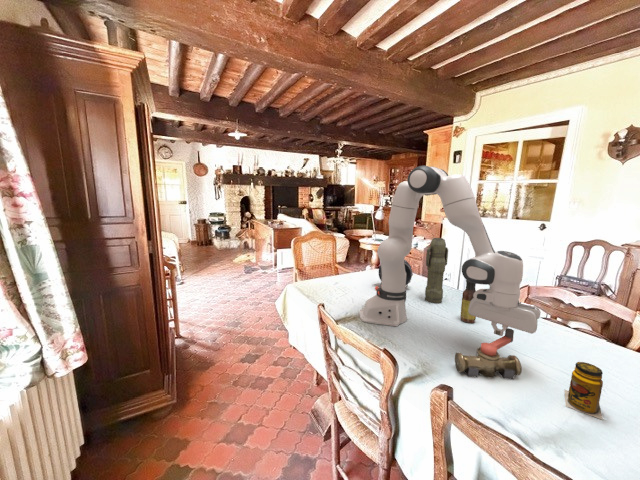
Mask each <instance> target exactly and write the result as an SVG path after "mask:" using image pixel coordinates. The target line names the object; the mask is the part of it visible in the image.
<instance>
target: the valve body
mask: <svg viewBox="0 0 640 480" xmlns="http://www.w3.org/2000/svg"><path fill="white" fill-rule="evenodd" d="M476 354H477V355H468V354H467V355H465V354H463V353H462V352H460V351H459V352H458V351H457V352H455V355H454V363H455V368H456V369H457V372H458V373H464V374H466V376H467V377H468V378H478V377H479V375H481V376H482V377H486V378H491V379H492V378H495V377H497V376H496V375H497V373H498V374H499V375H500V377H502V378H503V380H514V379H515V376H520V375H521V374H522V370H523V368H522V364H521V361H520V359H519V358H518V357H517V356H516V355H514V354H513V355H512V354H510V355H507V357H505V356H504V357H501V355H500V353H499V352H498V351H497V353H496V355H495V356H490V355H486V354H484V353H482V352H481V346H480V347H478V348H477V349H476Z"/></svg>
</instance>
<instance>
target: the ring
mask: <svg viewBox="0 0 640 480" xmlns="http://www.w3.org/2000/svg"><path fill="white" fill-rule="evenodd" d="M404 265H405V272H406V286H408V285H409V284H410V283H411V281H412V277H413V275H414V273H413V269H412V266H411V264H410V263H409V262H408V261H407V260H406V259H404ZM378 278H379V280H380V281H382V269H381V264H379V268H378Z"/></svg>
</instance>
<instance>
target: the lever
mask: <svg viewBox="0 0 640 480" xmlns="http://www.w3.org/2000/svg"><path fill="white" fill-rule="evenodd" d="M514 335H515V329H513V328H512V329H511V328H510V327H508V328H507V329H506V330H505V331H504V336H500V337H499V338H498V339H495V340H493V341H492V342H481V344H480V347H481V352H482V353H484V354H486V355H490V356H495V355H496V353H497V352H498V350H499V349H501V348H503V347H505V346H507V345H508V344H511V343H513V341H514Z"/></svg>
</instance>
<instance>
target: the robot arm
mask: <svg viewBox="0 0 640 480" xmlns="http://www.w3.org/2000/svg"><path fill="white" fill-rule="evenodd" d="M432 195H433V196H434V195H438V196H439V198H440V200H441V204H442V207H443V212H444V214H445V216H446V219H447V221H448V222H449V223H450V224H451V225H452V226H454V227H457V228H459V229H461V230H462V231H464V232H465V234H467V236H468V239H469V241H470V243H471V245H472V249H473V251H474V255H475V256H474V257H470V258H469V259H467V260H465V261H464V262H463V263H462V266H461V274H462V276H463V277H464V279H465V281H466V280H467V281H469V282H471V283H474V284H476V285H488V286H489V288H480V289H476V292H475V293H474V295H473V297H474V298H473V299H472V300H471V302H470V305H469V310H468V312H469V314H470V315H472V316H475V317H476V318H478V319H483V320H485V321H489V322H491V326H492V328H493V334H494V335H497V336H500V337H503V335H504V333H505V330H506V329H507V328H510V329H511V328H512V329H514V330H518V331H522V332H525V333H529V334H534V333H536V332H537V330H538V319H540V317H541V310H540V308H539V307H537V306H536V305H534V304H530V303H525V302H522V301H520V296H521V288H520V286H521V284H522V280H523V276H524V262H523V259H522V257H521V256H520V255H518V254H516V253H514V252H510V251H506V250H497V251H495V250H494V247H493V245H492V242H491V240H490V237H489V235H488V232H487V229H486V227H485V225H484V223H483V220H482V217H481V214H480V211H479V207H478V204H477V201H476V198H475V194H474V192H473V190H472V188H471V184H470V183H469V181H468V180H467V178H466V176H465V175H463V174H460V173H454V174H453V173H452V174H450V175H449V174H448V173H447V172H446V170H444V169H442V168H439V167H437V166H436V167H435V166H433V165H432V166H429V165H419V166H416V167H414V168H413V169H412V170H410V172H409V174H408V175H407V180H404V181H402V182H400V183H399V184H398V186H397V187H396V190H395V192H394V194H393V198H392V202H391V207H390V212H389V218H388V221H387V222H388V229H389V230H388V231H389V233H388V238H386V239H384V240H383V241H382V242H380V244H379V246H378V247H377V251H376V253H377V257H378V259H379V262H380V265H381V269H382V281H381V280H380V281H381V284H380V286H378V285H376V286H375V287H374V291H375V292H376V294H375V295H373V296H372V297H370V298H367V299H366V301H365V304H364V305H363V307H362V308H360V309H359V311H358V316H359V319H360V320H361V321H362V322H363V323H367V324H368V323H369V324H376V325H383V326H391V327H398V326H399V325H400V324H404V323H406V322H407V321H408V317H407V313H406V312H407V311H406V301H407V288H406V286H407V285H406V272H405V265H404V260H406V259H405V257H407V256H408V255H409V254H410V252H411V251H412V247H413V245H412V244H413V236H414V227H415V226H414V225H415V223H416V222H415V221H416V217H417V212H418V208H419V203H420V200H421V198H422V197H423V196H432ZM497 325H501V328H502V329H501V328H498V326H497Z"/></svg>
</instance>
